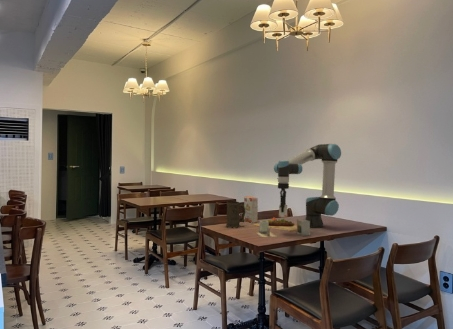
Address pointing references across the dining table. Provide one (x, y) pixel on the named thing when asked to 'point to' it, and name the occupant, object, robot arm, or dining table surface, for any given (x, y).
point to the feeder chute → (303, 227)
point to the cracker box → (251, 209)
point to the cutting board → (281, 224)
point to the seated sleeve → (263, 227)
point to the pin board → (266, 234)
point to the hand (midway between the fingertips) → (282, 216)
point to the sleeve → (285, 210)
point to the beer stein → (234, 214)
